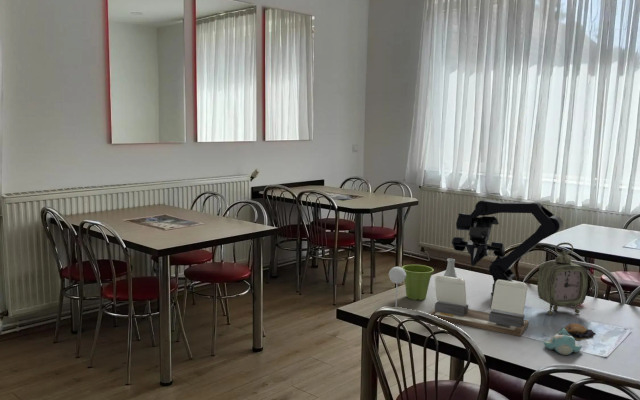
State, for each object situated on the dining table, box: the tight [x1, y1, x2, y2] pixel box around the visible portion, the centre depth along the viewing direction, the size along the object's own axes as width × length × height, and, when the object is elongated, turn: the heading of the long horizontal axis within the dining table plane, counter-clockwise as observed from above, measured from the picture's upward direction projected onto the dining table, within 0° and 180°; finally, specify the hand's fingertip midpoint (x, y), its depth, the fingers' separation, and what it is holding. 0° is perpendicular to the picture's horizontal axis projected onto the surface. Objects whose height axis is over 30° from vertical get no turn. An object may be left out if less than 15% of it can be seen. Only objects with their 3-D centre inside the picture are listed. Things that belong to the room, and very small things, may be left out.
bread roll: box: [557, 322, 596, 342], centre depth 183 cm, size 11×8×4 cm
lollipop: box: [388, 266, 406, 308], centre depth 204 cm, size 6×6×15 cm
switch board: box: [428, 301, 529, 337], centre depth 193 cm, size 12×30×4 cm, turn 59°
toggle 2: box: [490, 280, 528, 315], centre depth 189 cm, size 2×10×10 cm, turn 59°
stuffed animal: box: [542, 327, 583, 356], centre depth 171 cm, size 11×7×12 cm
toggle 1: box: [434, 274, 468, 306], centre depth 195 cm, size 2×10×10 cm, turn 59°
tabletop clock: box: [537, 242, 589, 316], centre depth 202 cm, size 14×9×25 cm, turn 102°
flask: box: [443, 258, 458, 278], centre depth 237 cm, size 7×7×10 cm
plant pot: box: [401, 264, 434, 301], centre depth 217 cm, size 12×12×11 cm
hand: (472, 265), depth 213 cm, fingers closed
